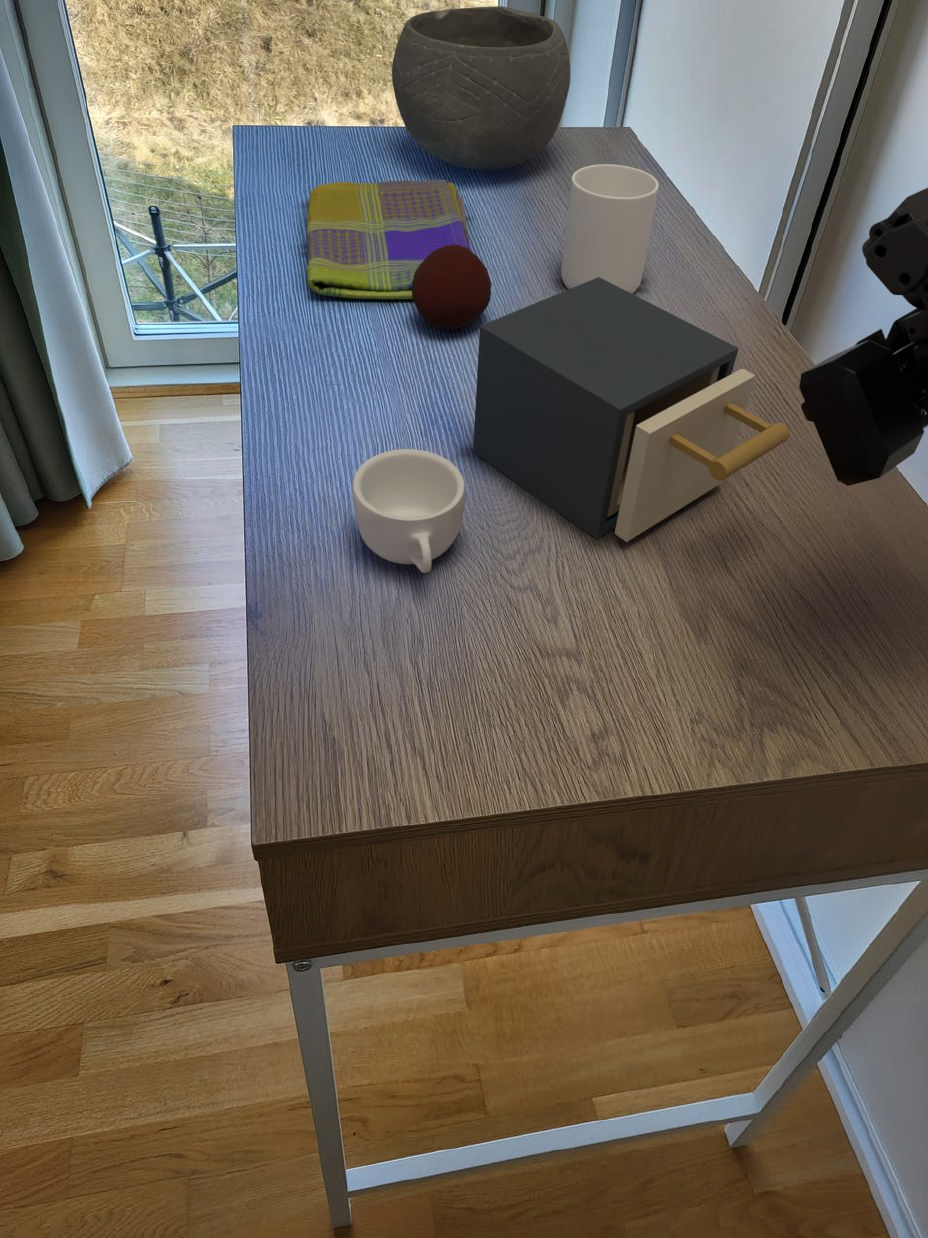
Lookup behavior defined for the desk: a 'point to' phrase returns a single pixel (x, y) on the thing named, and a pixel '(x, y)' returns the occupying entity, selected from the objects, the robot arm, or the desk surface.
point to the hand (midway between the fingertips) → (806, 410)
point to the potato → (451, 287)
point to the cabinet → (580, 390)
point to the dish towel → (378, 235)
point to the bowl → (481, 84)
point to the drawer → (685, 449)
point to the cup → (608, 225)
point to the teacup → (409, 505)
